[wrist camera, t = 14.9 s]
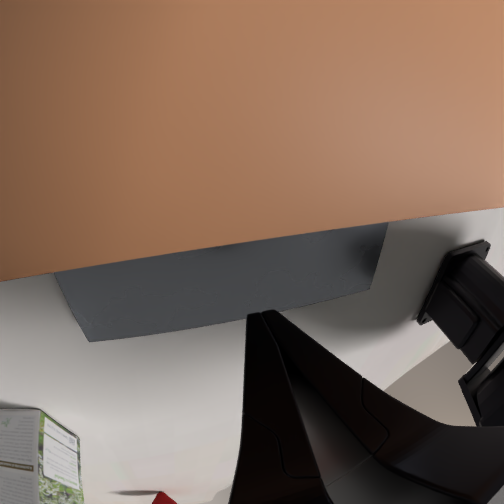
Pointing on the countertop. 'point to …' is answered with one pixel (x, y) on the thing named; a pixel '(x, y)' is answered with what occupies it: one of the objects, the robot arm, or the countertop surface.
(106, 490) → the countertop surface
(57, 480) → the syrup box
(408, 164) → the block
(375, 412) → the robot arm
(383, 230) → the base
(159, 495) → the strawberry
